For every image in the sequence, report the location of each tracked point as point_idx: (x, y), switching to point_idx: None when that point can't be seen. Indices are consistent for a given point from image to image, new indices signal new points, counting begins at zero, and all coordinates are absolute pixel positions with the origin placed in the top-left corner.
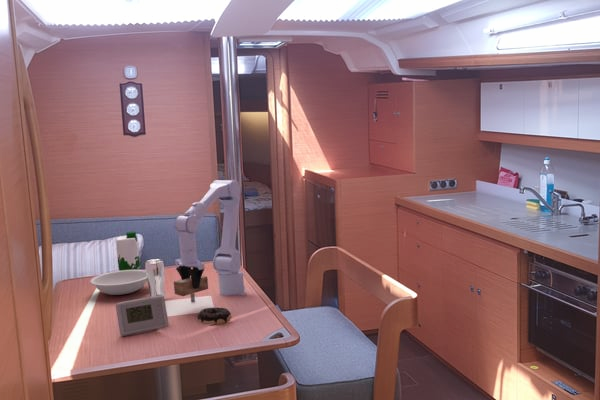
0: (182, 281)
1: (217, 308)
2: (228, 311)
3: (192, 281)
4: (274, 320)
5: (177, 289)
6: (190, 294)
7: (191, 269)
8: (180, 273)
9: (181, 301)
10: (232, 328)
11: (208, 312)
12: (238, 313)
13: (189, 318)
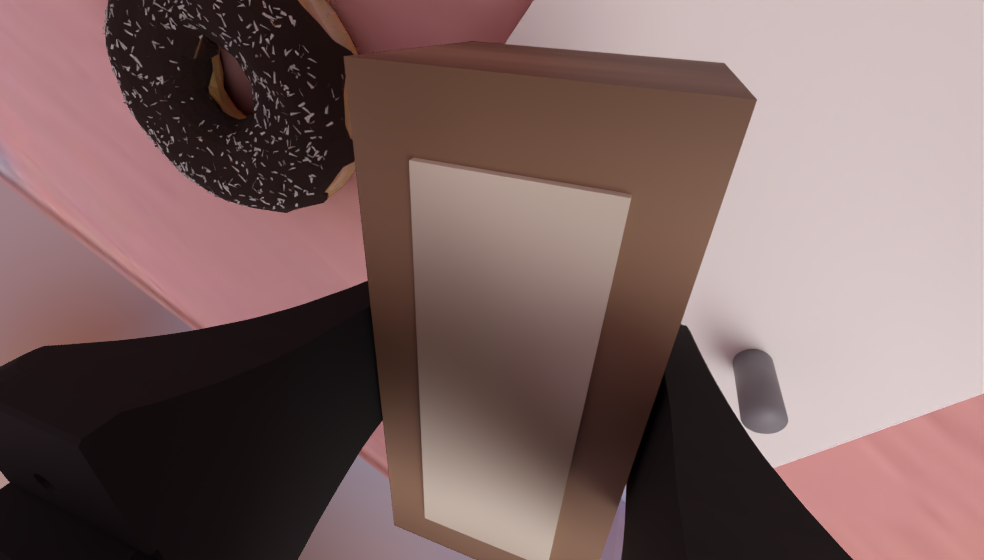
0: (469, 198)
1: (243, 162)
2: (169, 159)
3: (355, 302)
4: (106, 239)
5: (604, 62)
6: (778, 402)
7: (90, 499)
8: (735, 514)
9: (897, 337)
10: (82, 24)
11: (245, 69)
12: (294, 268)
13: (468, 11)
